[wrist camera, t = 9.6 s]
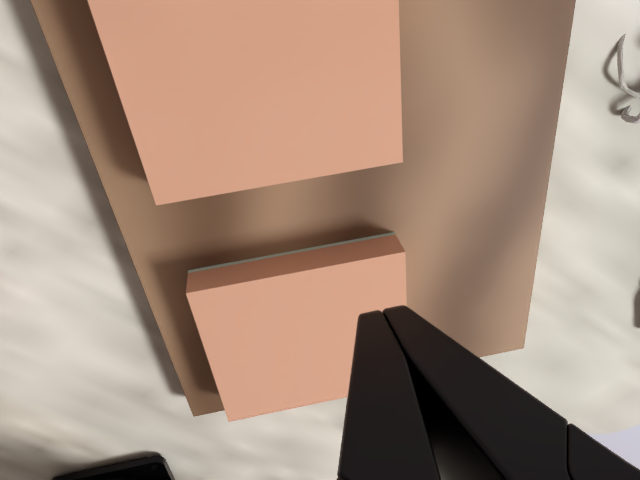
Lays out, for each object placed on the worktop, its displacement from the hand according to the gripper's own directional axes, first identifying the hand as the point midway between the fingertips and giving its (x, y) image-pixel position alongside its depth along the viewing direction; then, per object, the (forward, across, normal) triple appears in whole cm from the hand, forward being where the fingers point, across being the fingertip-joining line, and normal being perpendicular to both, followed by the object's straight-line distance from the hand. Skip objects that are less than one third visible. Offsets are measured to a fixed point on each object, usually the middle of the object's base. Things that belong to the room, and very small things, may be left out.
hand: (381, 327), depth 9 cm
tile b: (+11, -4, -2) cm, 11 cm away
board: (+13, -1, +4) cm, 13 cm away
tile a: (+11, -3, +10) cm, 15 cm away
